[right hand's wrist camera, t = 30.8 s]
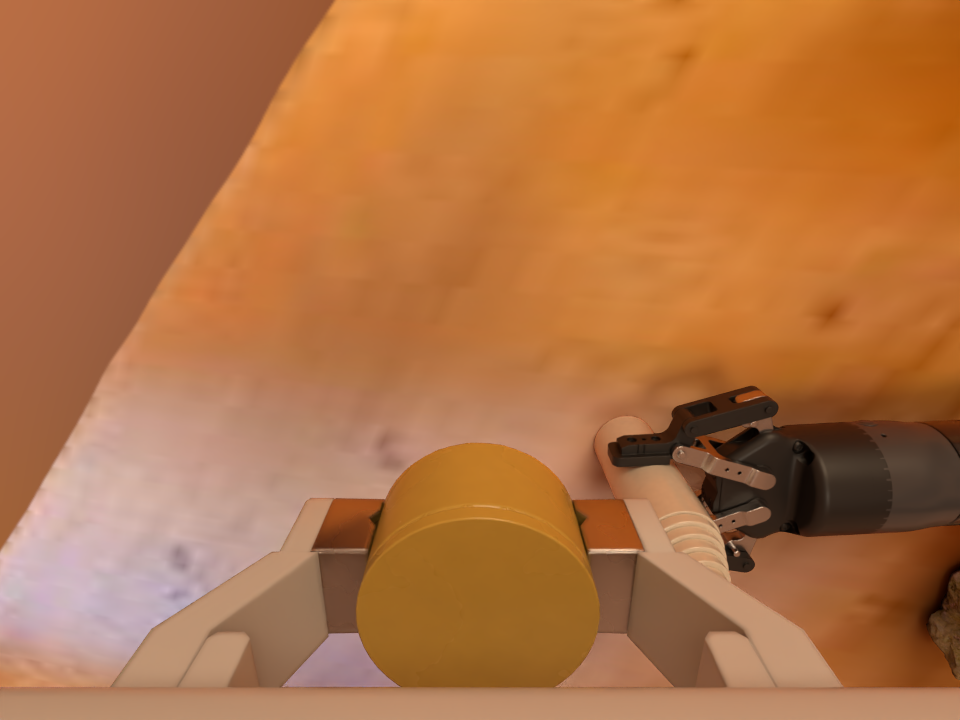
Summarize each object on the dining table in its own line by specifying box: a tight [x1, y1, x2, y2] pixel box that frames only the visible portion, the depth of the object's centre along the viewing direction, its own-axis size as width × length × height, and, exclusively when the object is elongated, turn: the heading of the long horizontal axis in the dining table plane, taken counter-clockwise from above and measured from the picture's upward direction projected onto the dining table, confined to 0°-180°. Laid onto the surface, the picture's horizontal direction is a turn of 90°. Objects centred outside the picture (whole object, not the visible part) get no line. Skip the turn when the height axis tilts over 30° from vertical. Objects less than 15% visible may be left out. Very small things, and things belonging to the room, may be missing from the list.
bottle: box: [594, 416, 731, 582], centre depth 34 cm, size 5×5×18 cm
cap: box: [356, 443, 600, 687], centre depth 9 cm, size 4×4×2 cm
